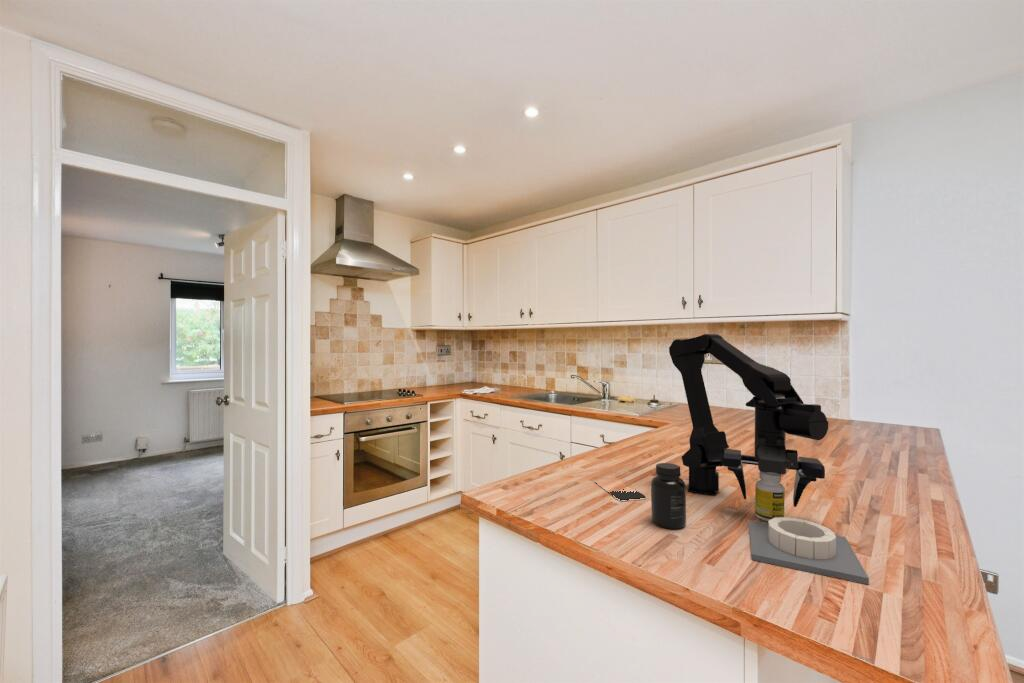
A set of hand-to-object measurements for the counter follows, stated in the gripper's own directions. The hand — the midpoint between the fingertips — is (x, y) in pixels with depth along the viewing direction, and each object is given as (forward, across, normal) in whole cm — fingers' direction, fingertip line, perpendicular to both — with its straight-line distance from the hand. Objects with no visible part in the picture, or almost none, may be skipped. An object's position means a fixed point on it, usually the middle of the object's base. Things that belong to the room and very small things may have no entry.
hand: (769, 502), depth 92 cm
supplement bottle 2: (+4, 0, 0) cm, 4 cm away
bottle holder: (+3, +4, -14) cm, 15 cm away
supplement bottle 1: (+4, -19, -13) cm, 23 cm away
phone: (+4, -33, +2) cm, 33 cm away
